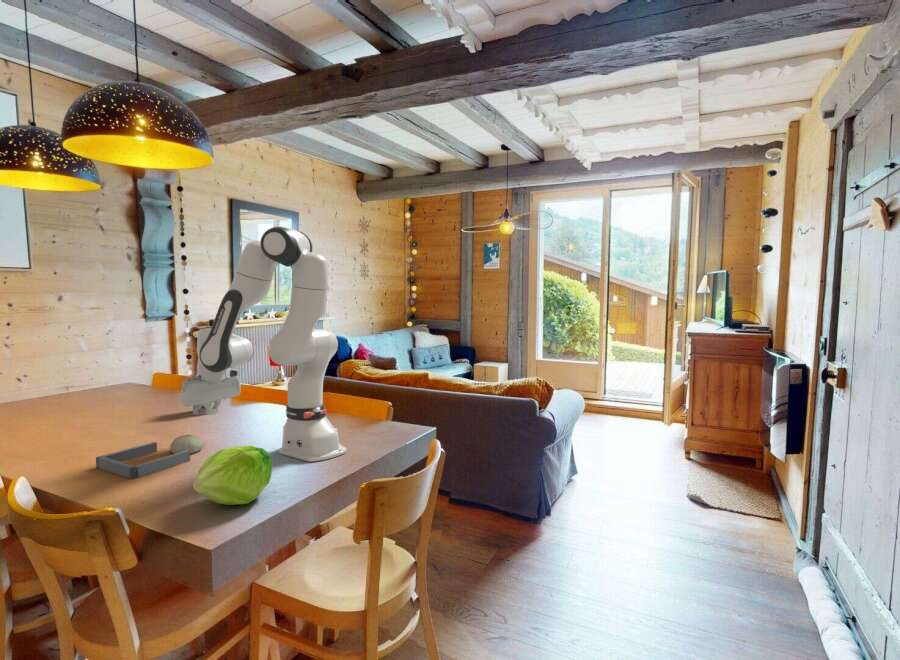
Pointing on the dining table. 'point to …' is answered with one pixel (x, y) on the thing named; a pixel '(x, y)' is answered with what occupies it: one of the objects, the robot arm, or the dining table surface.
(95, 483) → the dining table surface
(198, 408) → the coffee box
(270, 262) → the robot arm
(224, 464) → the lettuce
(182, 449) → the sea urchin shell
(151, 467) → the bay
